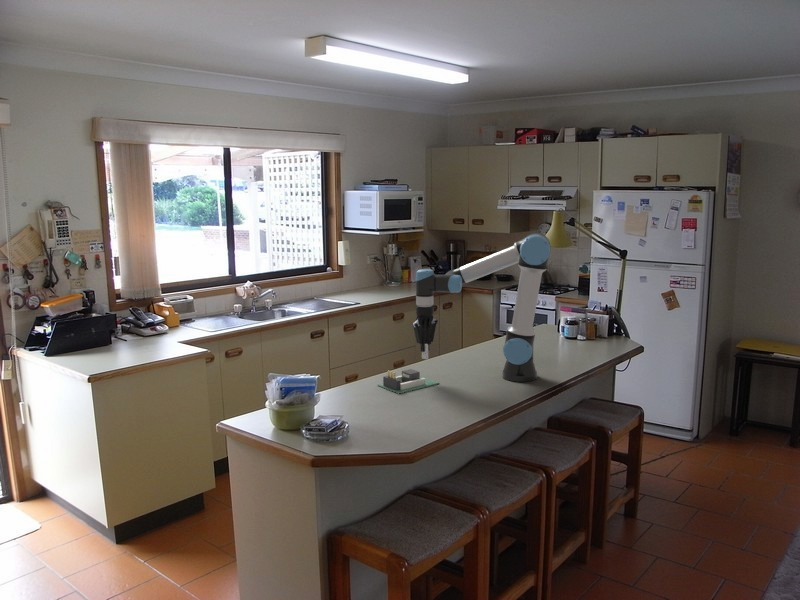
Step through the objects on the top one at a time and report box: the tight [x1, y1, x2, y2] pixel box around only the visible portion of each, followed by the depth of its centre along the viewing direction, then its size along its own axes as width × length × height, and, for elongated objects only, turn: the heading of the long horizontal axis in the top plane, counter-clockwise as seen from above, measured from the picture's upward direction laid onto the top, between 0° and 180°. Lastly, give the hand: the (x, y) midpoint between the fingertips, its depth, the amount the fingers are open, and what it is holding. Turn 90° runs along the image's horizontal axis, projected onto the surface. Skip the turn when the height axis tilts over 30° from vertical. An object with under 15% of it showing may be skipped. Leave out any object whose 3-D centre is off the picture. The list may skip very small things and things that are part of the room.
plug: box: [401, 368, 421, 383], centre depth 288 cm, size 6×5×5 cm
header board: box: [377, 369, 440, 394], centre depth 287 cm, size 15×22×8 cm
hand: (425, 358), depth 291 cm, fingers closed
